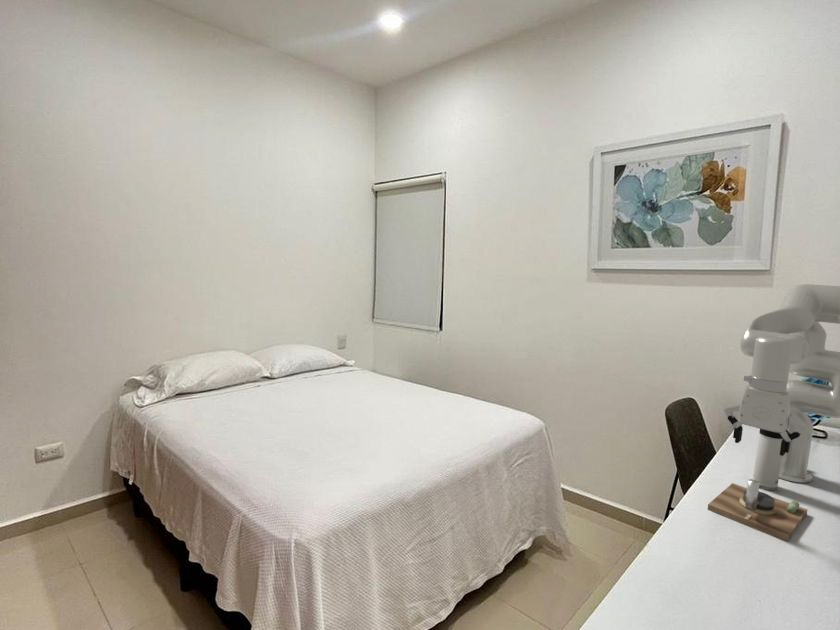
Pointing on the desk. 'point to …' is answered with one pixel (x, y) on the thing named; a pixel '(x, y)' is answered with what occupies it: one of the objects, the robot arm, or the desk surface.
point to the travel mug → (768, 460)
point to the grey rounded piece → (757, 497)
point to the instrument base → (759, 513)
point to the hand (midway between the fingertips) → (759, 447)
